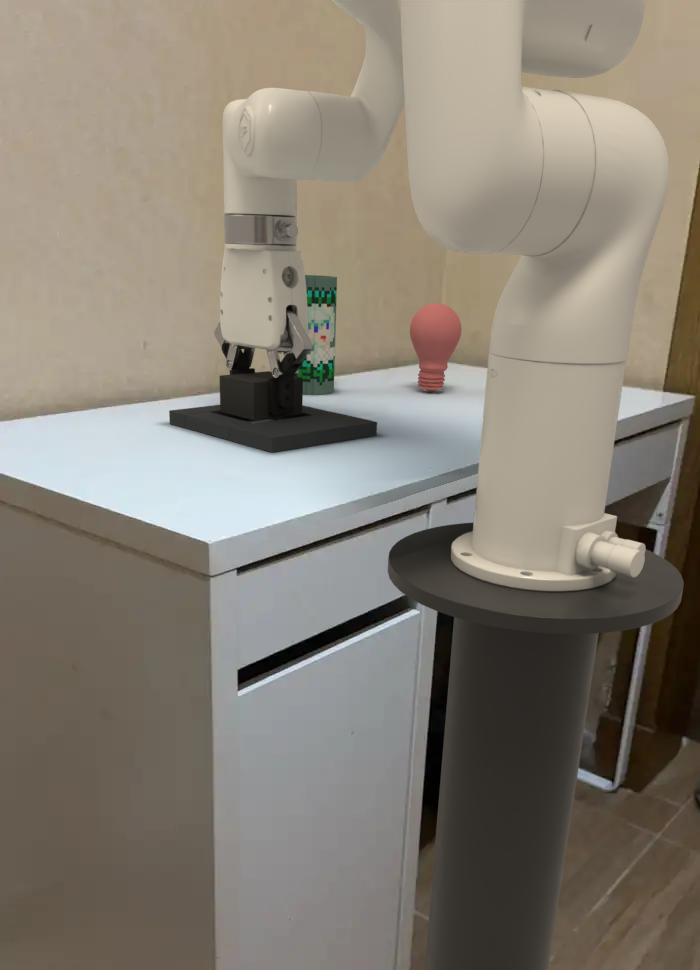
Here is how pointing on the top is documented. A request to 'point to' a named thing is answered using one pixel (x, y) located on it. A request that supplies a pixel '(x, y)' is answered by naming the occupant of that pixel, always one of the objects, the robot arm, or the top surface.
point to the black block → (253, 395)
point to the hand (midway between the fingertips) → (261, 407)
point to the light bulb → (434, 342)
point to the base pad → (275, 427)
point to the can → (320, 335)
